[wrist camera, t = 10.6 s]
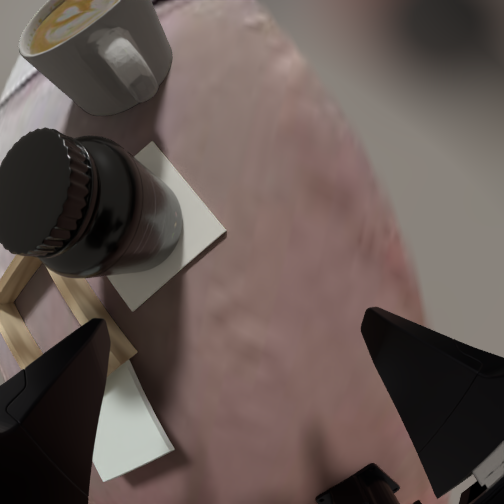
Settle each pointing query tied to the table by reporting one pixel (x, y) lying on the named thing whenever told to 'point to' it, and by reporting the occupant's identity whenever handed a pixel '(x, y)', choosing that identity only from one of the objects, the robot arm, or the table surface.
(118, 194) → the supplement bottle
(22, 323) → the frame
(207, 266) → the table surface
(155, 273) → the felt mat
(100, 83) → the coffee mug
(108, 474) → the frame lid
